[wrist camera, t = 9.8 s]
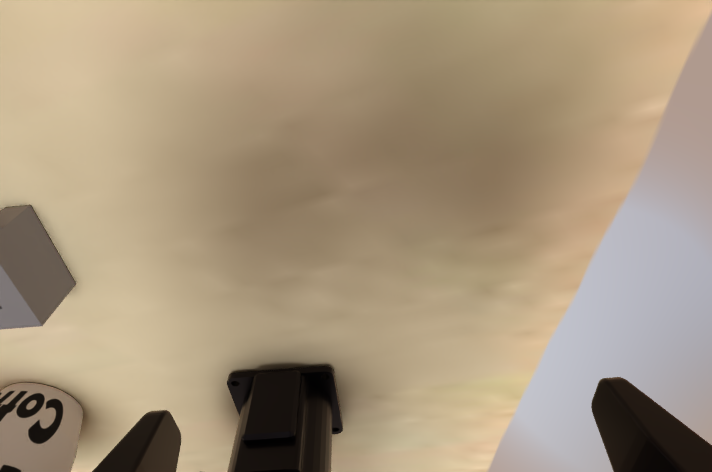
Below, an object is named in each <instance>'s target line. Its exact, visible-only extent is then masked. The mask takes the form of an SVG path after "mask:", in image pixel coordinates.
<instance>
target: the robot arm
mask: <svg viewBox="0 0 712 472" xmlns="http://www.w3.org/2000/svg"><path fill="white" fill-rule="evenodd" d="M227 385H228V388H229V390H230V393H231V395H232V398H233V400H234V403H235V406H236V408H237V411H238V413H239V416H240V418H239V422H238V427H237V431H236V436H235V440H234V445H233V449H232V454H231V458H230V463H229V467H228V472H331V447H332V434H339V433H341V432H342V431H343V422H342V416H341V411H340V405H339V399H338V393H337V387H336V381H335V375H334V370H333V369H332V368H331V367H329V366H319V367H306V368H292V369H279V370H266V371H252V372H239V373H232V374H230V375H229V377H228V380H227ZM592 412H593V416H594V418H595V421H596V424H597V427H598V429H599V432H600V435H601V437H602V440H603V443H604V446H605V449H606V452H607V454H608V457H609V460H610V462H611V465H612V468H613V471H614V472H712V445H710V444H709V443H708V442H707V441H705V440H704V439H703V438H701V437H700V436H699V435H697V434H696V433H695V432H693V431H692V430H691V429H690V428H688V427H687V426H686V425H684V424H683V423H682V422H681V421H679V420H678V419H676V418H675V417H674V416H673V415H671V414H670V413H669V412H667V411H666V410H665V409H663V408H662V407H661V406H660V405H658V404H657V403H656V402H654V401H653V400H652V399H651V398H649V397H648V396H647V395H645V394H644V393H643V392H641V391H640V390H639V389H637V388H636V387H635V386H634V385H632V384H631V383H629V382H628V381H627V380H625V379H623V378H620V377H614V378H603V379H601V380H600V381H599V383H598V386H597V389H596V392H595V394H594V397H593V400H592ZM180 445H181V433H180V430H179V428H178V427H177V425H176V423H175V421H174V419H173V417H172V415H171V414H170V412H169V411H167V410H161V411H151V412H148V413H146V414H145V415H144V416H143V417H142V418H141V419H140V420H139V421H138V422H137V424H136V425H135V426H134V427H133V428H132V429H131V430H130V431H129V432H128V433H127V434H126V435H125V437H124V438H123V439H122V440H121V441H120V442H119V443H118V444H117V445H116V446H115V447H114V449H113V450H112V451H111V452H110V453H109V454H108V455H107V456H106V457H105V458H104V459H103V461H102V462H101V463H100V464H99V465H98V466H97V467H96V468H95V469H94V470H93V471H92V472H176V468H177V462H178V457H179V451H180Z"/></svg>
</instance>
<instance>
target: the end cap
mask: <svg viewBox="0 0 712 472" xmlns="http://www.w3.org/2000/svg"><path fill="white" fill-rule="evenodd" d="M75 285H76V283H75V281H74V280H73V278H72V276H71V274H70V273H69V271H68V269H67V268H66V266H65V264H64V262H63V261H62V259H61V257H60V255H59V254H58V252H57V250H56V248H55V247H54V245H53V243H52V242H51V240H50V238H49V236H48V235H47V233H46V231H45V229H44V228H43V226H42V224H41V222H40V221H39V219H38V217H37V216H36V214H35V212H34V210H33V209H32V207H31V205H28V206H16V207H5V208H4V209H2V210H1V211H0V329H11V328H24V327H36V326H43V324H44V323H45V322H46V321H47V319H48V318H49V317H50V316H51V314H52V313H53V312H54V311H55V309H56V308H57V307H58V306H59V305H60V303H61V302H62V301H63V300H64V298H65V297H66V296H67V295H68V293H69V292H70V291H71V290H72V288H73V287H74V286H75Z"/></svg>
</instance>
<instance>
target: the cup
mask: <svg viewBox="0 0 712 472" xmlns="http://www.w3.org/2000/svg"><path fill="white" fill-rule="evenodd" d="M82 420H83V410H82V408H81V406H80V404H79V403H78V402H77V401H76V400H75V399H74V398H72V397H71V396H70V395H68V394H67V393H65V392H63V391H61V390H59V389H56V388H54V387H51V386H47V385H43V384H37V383H16V384H12V385H9V386H7V387H5V388H4V389H2V390H1V391H0V472H71V469H72V466H73V463H74V460H75V457H76V452H77V446H78V441H79V436H80V430H81V425H82Z"/></svg>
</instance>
